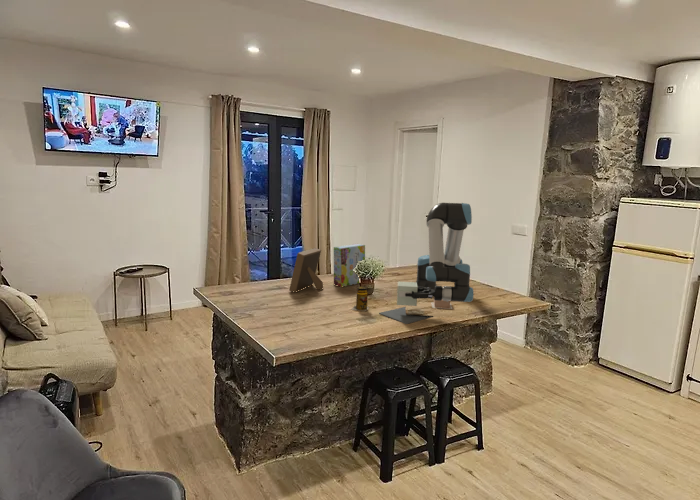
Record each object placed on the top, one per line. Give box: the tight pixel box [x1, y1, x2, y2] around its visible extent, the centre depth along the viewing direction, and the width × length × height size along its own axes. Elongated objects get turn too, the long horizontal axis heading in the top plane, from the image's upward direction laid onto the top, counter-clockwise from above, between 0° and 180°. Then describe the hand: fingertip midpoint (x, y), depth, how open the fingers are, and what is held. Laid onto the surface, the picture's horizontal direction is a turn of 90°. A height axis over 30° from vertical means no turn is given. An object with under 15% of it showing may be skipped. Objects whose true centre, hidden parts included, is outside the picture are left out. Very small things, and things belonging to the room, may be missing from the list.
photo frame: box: [288, 247, 324, 293], centre depth 287 cm, size 15×22×25 cm
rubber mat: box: [378, 306, 434, 325], centre depth 242 cm, size 20×20×1 cm
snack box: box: [333, 243, 366, 288], centre depth 305 cm, size 22×9×26 cm, turn 133°
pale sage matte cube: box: [396, 281, 418, 307], centre depth 240 cm, size 10×10×10 cm
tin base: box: [430, 299, 454, 310], centre depth 257 cm, size 11×11×6 cm
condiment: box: [350, 286, 370, 312], centre depth 252 cm, size 7×8×12 cm
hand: (398, 291), depth 240 cm, fingers closed on pale sage matte cube, 10 cm apart
